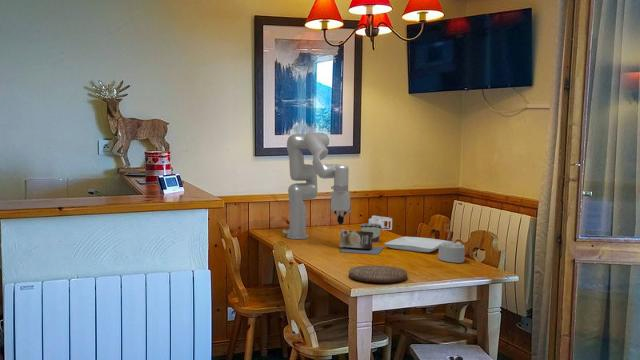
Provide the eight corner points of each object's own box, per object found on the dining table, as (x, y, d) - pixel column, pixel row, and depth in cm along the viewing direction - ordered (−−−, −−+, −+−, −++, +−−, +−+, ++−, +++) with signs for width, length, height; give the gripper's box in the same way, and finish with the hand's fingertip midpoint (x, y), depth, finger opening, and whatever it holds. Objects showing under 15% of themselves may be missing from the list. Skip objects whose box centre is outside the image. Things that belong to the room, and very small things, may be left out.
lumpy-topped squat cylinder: (452, 256, 309) (452, 239, 309) (469, 261, 298) (470, 243, 297) (435, 258, 305) (436, 240, 304) (452, 263, 293) (453, 245, 292)
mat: (339, 252, 316) (339, 251, 316) (347, 245, 335) (347, 244, 335) (377, 254, 311) (378, 253, 311) (383, 247, 330) (383, 247, 330)
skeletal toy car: (366, 226, 407) (366, 215, 406) (381, 226, 410) (381, 215, 410) (378, 231, 388) (378, 219, 387) (394, 230, 391) (395, 219, 391)
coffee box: (340, 229, 323) (370, 230, 319) (343, 230, 329) (373, 231, 325) (339, 247, 322) (369, 248, 317) (342, 247, 328) (372, 249, 323)
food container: (381, 241, 351) (382, 223, 351) (381, 243, 345) (382, 225, 345) (360, 240, 353) (360, 223, 352) (359, 242, 347) (360, 224, 346)
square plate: (403, 242, 351) (404, 235, 351) (450, 247, 337) (450, 240, 337) (383, 249, 328) (383, 242, 328) (432, 255, 314) (432, 247, 314)
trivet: (406, 284, 251) (406, 279, 251) (345, 280, 256) (345, 276, 255) (408, 271, 276) (408, 267, 276) (352, 268, 280) (352, 264, 280)
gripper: (325, 189, 322) (324, 224, 323) (353, 190, 318) (353, 225, 319) (328, 187, 329) (328, 222, 330) (356, 188, 325) (355, 223, 327)
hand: (340, 223), depth 325 cm, fingers closed
